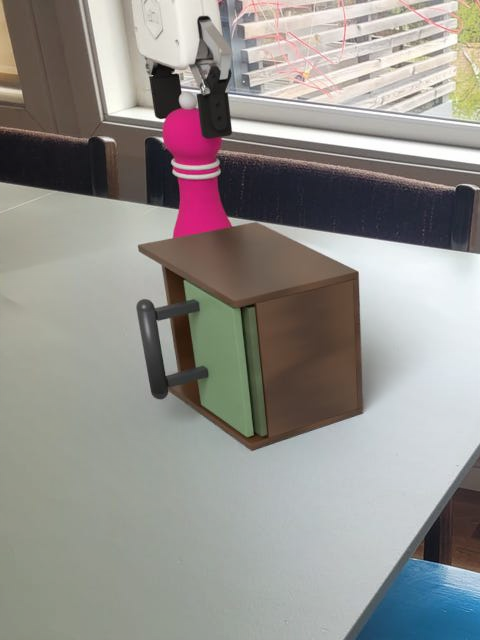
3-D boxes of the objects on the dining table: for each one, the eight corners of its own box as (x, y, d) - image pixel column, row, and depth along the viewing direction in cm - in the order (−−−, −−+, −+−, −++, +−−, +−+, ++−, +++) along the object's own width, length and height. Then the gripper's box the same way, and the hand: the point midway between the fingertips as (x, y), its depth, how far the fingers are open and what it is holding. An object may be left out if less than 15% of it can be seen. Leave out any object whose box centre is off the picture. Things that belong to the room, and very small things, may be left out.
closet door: (192, 455, 82) (172, 323, 75) (147, 420, 87) (124, 292, 80) (254, 435, 85) (240, 307, 78) (207, 402, 90) (190, 278, 83)
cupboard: (251, 450, 85) (234, 301, 77) (160, 385, 94) (137, 244, 86) (363, 413, 92) (359, 271, 83) (268, 355, 100) (256, 221, 92)
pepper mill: (203, 302, 110) (177, 102, 98) (165, 284, 114) (135, 89, 101) (255, 287, 115) (237, 93, 102) (218, 271, 118) (195, 81, 106)
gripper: (87, -82, 96) (121, 114, 107) (175, -64, 86) (203, 150, 97) (158, -83, 100) (184, 106, 111) (250, -66, 90) (269, 139, 101)
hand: (193, 126), depth 104 cm, fingers open, 9 cm apart
